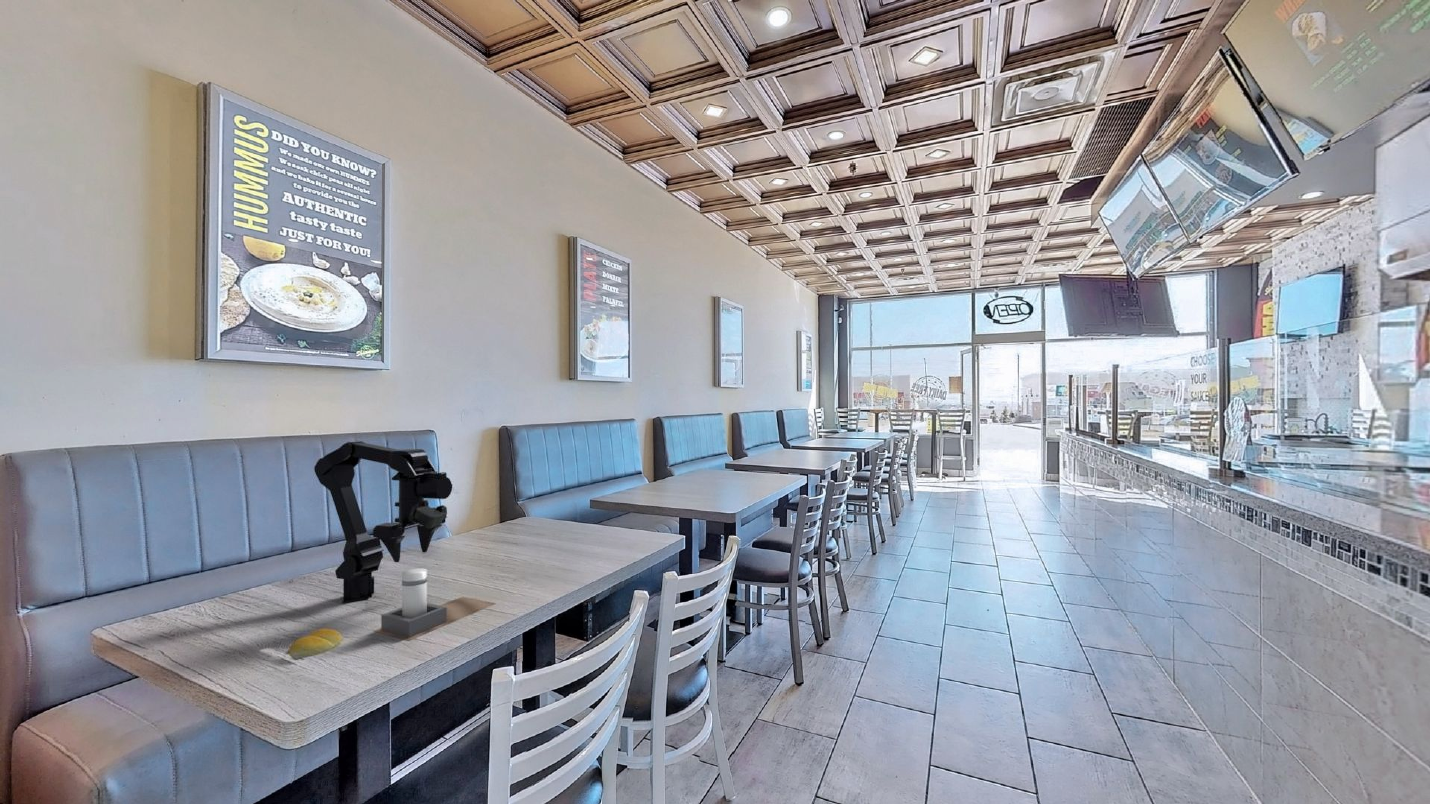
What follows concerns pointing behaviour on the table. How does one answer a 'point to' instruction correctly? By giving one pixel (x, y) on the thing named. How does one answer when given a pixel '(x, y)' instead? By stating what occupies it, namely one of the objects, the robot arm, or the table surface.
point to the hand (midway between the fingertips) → (411, 557)
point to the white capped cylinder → (414, 593)
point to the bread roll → (315, 643)
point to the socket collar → (413, 621)
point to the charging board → (451, 613)
